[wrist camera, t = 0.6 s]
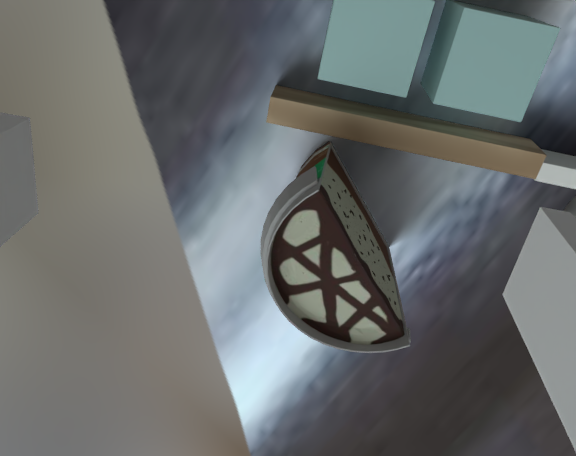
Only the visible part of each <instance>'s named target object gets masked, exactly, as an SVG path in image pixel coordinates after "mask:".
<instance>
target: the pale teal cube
mask: <svg viewBox="0 0 576 456" xmlns="http://www.w3.org/2000/svg"><path fill="white" fill-rule="evenodd" d="M559 30H560V28H559V27H556V26H553V25H550V24H548V23H545V22H542V21H539V20H537V19H534V18H531V17H528V16H523V15H518V14H514V13H509V12H505V11H500V10H495V9H491V8H486V7H481V6H477V5H472V4H467V3H463V2H458V1H454V0H446V3H445V6H444V9H443V13H442V16H441V19H440V22H439V26H438V29H437V32H436V35H435V38H434V42H433V45H432V48H431V51H430V55H429V58H428V61H427V64H426V67H425V71H424V74H423V77H422V80H421V85H422V86H423V88H424V90H425V91H426V93H427V95H428V96H429V98H430V100H431V101H432V103H433V104H437V105H442V106H447V107H451V108H456V109H461V110H466V111H470V112H475V113H480V114H484V115H489V116H494V117H498V118H503V119H508V120H513V121H517V122H521V121H522V119H523V117H524V114H525V112H526V109H527V107H528V105H529V102H530V100H531V97H532V95H533V93H534V90H535V88H536V85H537V83H538V81H539V78H540V76H541V74H542V71H543V69H544V66H545V64H546V62H547V59H548V57H549V54H550V52H551V50H552V47H553V45H554V42H555V40H556V38H557V35H558V33H559Z"/></svg>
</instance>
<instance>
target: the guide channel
mask: <svg viewBox="0 0 576 456" xmlns="http://www.w3.org/2000/svg"><path fill="white" fill-rule="evenodd" d="M266 122H268V123H272V124H277V125H282V126H287V127H291V128H296V129H301V130H306V131H310V132H315V133H320V134H325V135H329V136H334V137H339V138H344V139H348V140H353V141H358V142H362V143H367V144H372V145H377V146H381V147H386V148H391V149H396V150H400V151H405V152H410V153H415V154H419V155H424V156H429V157H434V158H438V159H443V160H448V161H452V162H457V163H462V164H467V165H471V166H476V167H481V168H486V169H490V170H495V171H500V172H505V173H509V174H514V175H519V176H523V177H528V178H533V179H536V177H537V175H538V173H539V171H540V169H541V166H542V164H543V162H544V160H545V158H546V156H547V155H546V154H545V153H544V152H543V151H542V150H541V149H540V148H539V147H538V146H537V145H536V144H535V143H534V142H533V141H532V140H531V139H528V138H523V137H518V136H514V135H509V134H504V133H500V132H495V131H490V130H485V129H481V128H476V127H471V126H467V125H462V124H457V123H452V122H448V121H443V120H438V119H434V118H429V117H424V116H419V115H415V114H410V113H405V112H401V111H396V110H391V109H386V108H382V107H377V106H372V105H368V104H363V103H358V102H353V101H349V100H344V99H339V98H335V97H330V96H325V95H320V94H316V93H311V92H306V91H302V90H297V89H292V88H287V87H283V86H278V85H276V86H275V89H274V91H273V93H272V95H271V98H270V104H269V110H268V116H267V121H266Z"/></svg>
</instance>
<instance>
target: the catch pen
mask: <svg viewBox="0 0 576 456" xmlns="http://www.w3.org/2000/svg"><path fill="white" fill-rule="evenodd" d="M541 150H542V151H543V152H544V153H545V154H546V155H547V156H546V158H545V160H544V162H543V164H542V166H541V169H540V171H539V173H538V175H537V177H536V179H534V180H535V181H540V182H544V183H549V184H554V185H559V186H563V187H568V188H573V189H576V156H571V155H567V154H562V153H557V152H552V151H548V150H543V149H541Z"/></svg>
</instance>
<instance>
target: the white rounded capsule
mask: <svg viewBox="0 0 576 456" xmlns="http://www.w3.org/2000/svg"><path fill="white" fill-rule="evenodd" d="M564 211H566V212H570V213H571V214H572V215H573V216H574V217H575V218H576V197H574V198H573V199H572V200H571V201H570V202H569V203H568V205H567V206H566V207H565V209H564Z"/></svg>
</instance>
